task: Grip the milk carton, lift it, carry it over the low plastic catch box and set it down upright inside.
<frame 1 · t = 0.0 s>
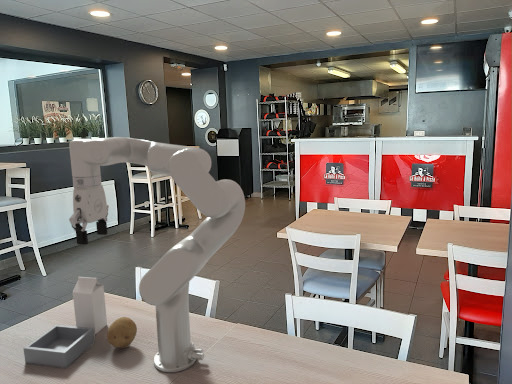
hand: (92, 239, 117), 37 cm above the table, tool pointing down, fingers open, 9 cm apart
catch box: (61, 352, 124), on the table
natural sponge: (123, 348, 126), on the table
milk carton: (92, 329, 138), on the table
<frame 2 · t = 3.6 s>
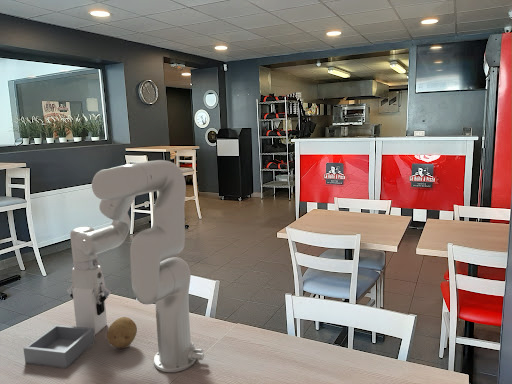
hand: (90, 312, 137), 6 cm above the table, tool pointing down, fingers closed on milk carton, 7 cm apart
milk carton: (92, 329, 138), on the table, touching gripper
everything else where it was.
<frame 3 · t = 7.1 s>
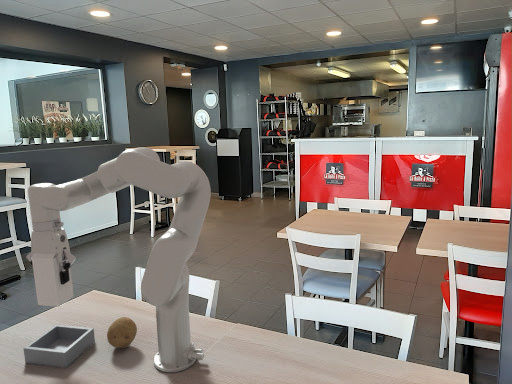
hand: (53, 281, 120), 24 cm above the table, tool pointing down, fingers closed on milk carton, 7 cm apart
milk carton: (56, 301, 121), point 17 cm above the table, touching gripper
everything else where it was.
when the fingers open (8 cm above the table, at t = 10.9 s): milk carton drops 1 cm, resting on catch box.
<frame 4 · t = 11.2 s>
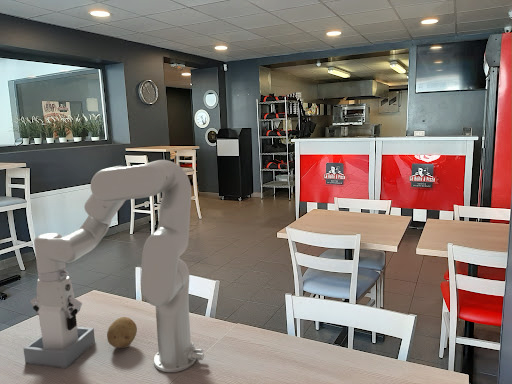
hand: (58, 326, 122), 9 cm above the table, tool pointing down, fingers open, 9 cm apart
milk carton: (62, 351, 124), resting on catch box
everything else where it was.
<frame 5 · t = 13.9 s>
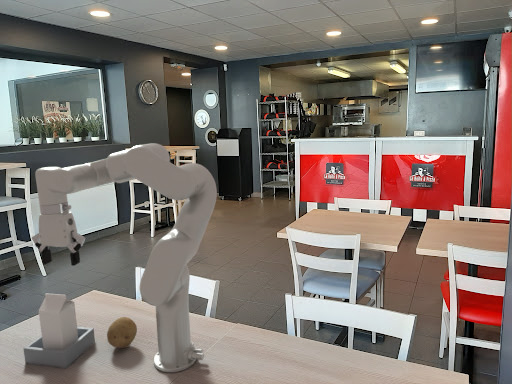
hand: (61, 263, 120), 29 cm above the table, tool pointing down, fingers open, 9 cm apart
nothing on the table moved.
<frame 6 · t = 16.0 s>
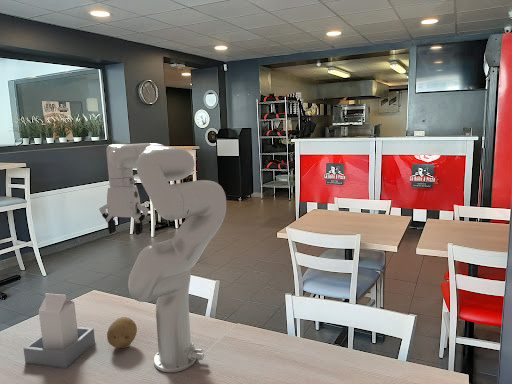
hand: (125, 233, 132), 34 cm above the table, tool pointing down, fingers open, 9 cm apart
nothing on the table moved.
at the end: milk carton inside the target area on the catch box (0.2 cm from its centre), point 0.3 cm above the catch box's base; milk carton tilted 0°; the gripper is holding nothing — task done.
